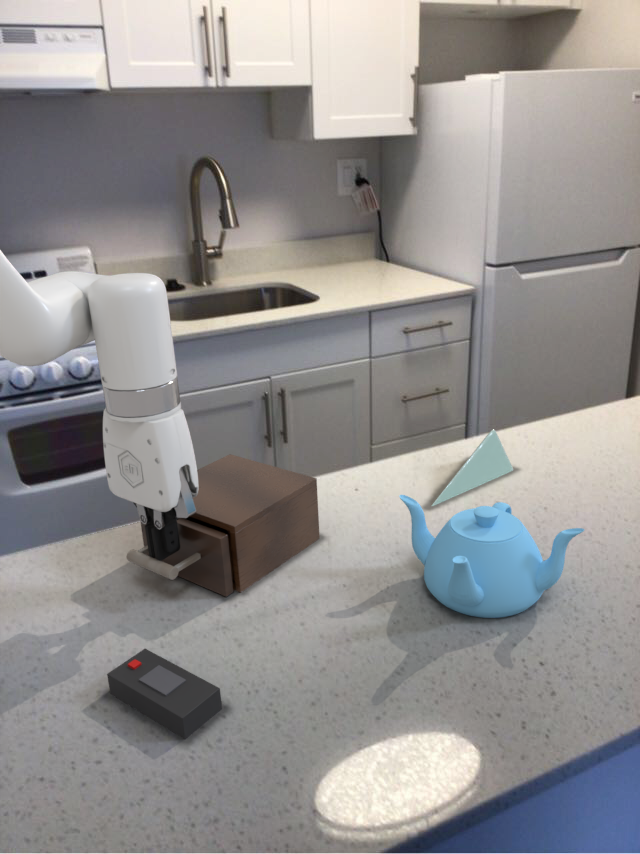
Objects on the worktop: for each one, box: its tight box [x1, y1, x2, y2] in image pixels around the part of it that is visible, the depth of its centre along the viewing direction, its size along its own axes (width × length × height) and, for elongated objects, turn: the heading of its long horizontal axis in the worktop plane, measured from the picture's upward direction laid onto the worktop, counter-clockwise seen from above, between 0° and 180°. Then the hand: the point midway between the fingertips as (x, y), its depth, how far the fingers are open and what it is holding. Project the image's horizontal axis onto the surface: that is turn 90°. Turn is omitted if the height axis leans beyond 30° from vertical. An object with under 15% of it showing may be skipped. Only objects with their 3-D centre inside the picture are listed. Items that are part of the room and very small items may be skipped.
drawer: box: [126, 517, 235, 597], centre depth 89 cm, size 18×13×7 cm
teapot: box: [398, 494, 585, 619], centre depth 82 cm, size 15×15×10 cm
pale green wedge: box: [431, 428, 514, 507], centre depth 107 cm, size 8×6×18 cm
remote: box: [106, 648, 223, 740], centre depth 68 cm, size 4×10×3 cm, turn 53°
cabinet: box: [190, 453, 321, 594], centre depth 93 cm, size 15×15×9 cm
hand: (165, 553), depth 84 cm, fingers closed
